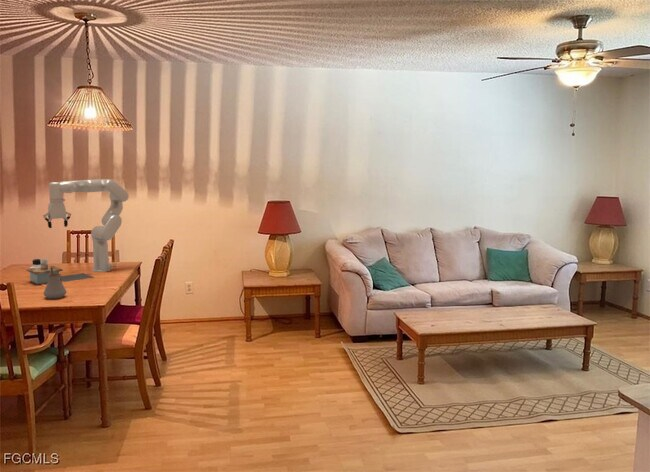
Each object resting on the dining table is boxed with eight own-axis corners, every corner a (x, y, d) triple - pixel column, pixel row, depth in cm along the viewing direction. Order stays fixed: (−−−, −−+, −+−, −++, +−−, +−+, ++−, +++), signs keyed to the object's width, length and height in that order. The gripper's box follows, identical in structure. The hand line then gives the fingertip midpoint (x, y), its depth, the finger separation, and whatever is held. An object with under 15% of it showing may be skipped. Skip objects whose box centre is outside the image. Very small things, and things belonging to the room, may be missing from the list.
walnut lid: (53, 267, 346) (52, 256, 345) (62, 271, 335) (62, 259, 334) (26, 270, 335) (25, 259, 334) (35, 274, 324) (34, 262, 323)
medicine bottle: (39, 278, 346) (38, 260, 344) (30, 277, 347) (28, 259, 345) (47, 276, 353) (46, 258, 351) (37, 275, 354) (36, 258, 352)
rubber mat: (83, 273, 362) (83, 273, 362) (95, 277, 349) (95, 277, 349) (53, 277, 349) (53, 277, 348) (64, 282, 335) (64, 281, 335)
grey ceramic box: (52, 278, 345) (51, 268, 344) (59, 281, 336) (59, 271, 335) (30, 281, 336) (29, 270, 335) (37, 284, 327) (36, 273, 326)
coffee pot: (67, 298, 295) (66, 271, 293) (44, 300, 289) (43, 273, 287) (63, 290, 313) (62, 265, 311) (41, 292, 307) (40, 267, 305)
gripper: (67, 200, 354) (69, 225, 356) (40, 201, 342) (41, 227, 344) (72, 200, 349) (73, 226, 351) (44, 202, 337) (46, 228, 339)
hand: (58, 227), depth 348 cm, fingers open, 9 cm apart
